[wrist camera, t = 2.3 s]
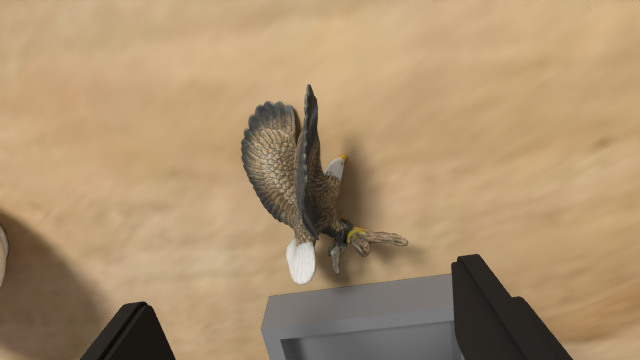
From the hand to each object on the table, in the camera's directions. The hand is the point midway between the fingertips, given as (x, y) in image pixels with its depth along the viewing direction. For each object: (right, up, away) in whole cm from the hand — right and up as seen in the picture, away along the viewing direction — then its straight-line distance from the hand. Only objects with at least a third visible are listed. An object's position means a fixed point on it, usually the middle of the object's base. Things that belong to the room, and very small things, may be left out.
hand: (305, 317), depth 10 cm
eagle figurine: (0, +5, +10) cm, 11 cm away
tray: (+5, -10, +16) cm, 19 cm away
